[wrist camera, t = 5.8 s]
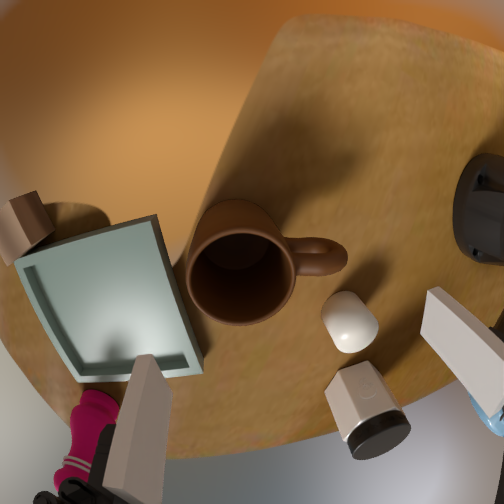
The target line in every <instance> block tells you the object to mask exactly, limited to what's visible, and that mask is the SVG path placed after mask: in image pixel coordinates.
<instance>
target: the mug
mask: <svg viewBox="0 0 504 504" xmlns="http://www.w3.org/2000/svg"><path fill="white" fill-rule="evenodd" d="M347 260H348V255H347V251H346V250H345V248H344V247H343V246H342V245H340V244H339V243H337V242H335V241H333V240H329V239H325V238H317V237H306V238H288V237H283V236H282V234H281V233H280V231H279V229H278V228H277V226H276V225H275V224H274V222H273V221H272V219H271V218H270V216H269V215H268V214H267V213H266V212H265V211H264V210H263V209H262V208H261V207H259V206H258V205H256V204H254V203H252V202H249V201H246V200H239V199H232V200H226V201H223V202H220V203H218V204H216V205H214V206H213V207H211V208H210V209H209V210H207V211H206V213H205V214H204V215H203V216H202V218H201V219H200V221H199V223H198V225H197V228H196V231H195V234H194V237H193V240H192V243H191V246H190V250H189V253H188V258H187V265H186V285H187V289H188V293H189V295H190V297H191V299H192V301H193V302H194V304H195V305H196V306H197V307H198V309H199V310H200V311H201V312H203V313H204V314H205V315H206V316H208V317H209V318H211V319H213V320H215V321H217V322H220V323H223V324H226V325H232V326H247V325H253V324H256V323H260V322H262V321H265V320H267V319H268V318H270V317H272V316H273V315H275V314H276V313H277V312H279V311H280V310H281V309H282V308H283V307H284V305H285V304H286V303H287V301H288V300H289V298H290V296H291V294H292V292H293V289H294V286H295V282H296V276H298V275H300V276H326V275H331V274H334V273H336V272H339V271H341V270H342V269H343V268H344V267H345V265H346V264H347Z"/></svg>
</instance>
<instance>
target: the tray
mask: <svg viewBox="0 0 504 504" xmlns="http://www.w3.org/2000/svg"><path fill="white" fill-rule="evenodd" d="M14 264H15V267H16V270H17V272H18V274H19V277H20V279H21V282H22V284H23V286H24V289H25V291H26V293H27V295H28V297H29V299H30V302H31V304H32V306H33V308H34V310H35V312H36V314H37V316H38V318H39V320H40V322H41V323H42V325H43V327H44V329H45V331H46V333H47V334H48V336H49V338H50V340H51V341H52V343H53V345H54V347H55V348H56V350H57V351H58V353H59V355H60V356H61V358H62V360H63V361H64V363H65V364H66V366H67V367H68V369H69V370H70V372H71V373H72V375H73V376H74V378H75V379H76V381H77V382H117V381H129V379H130V376H131V373H132V369H133V366H134V363H135V360H136V357H137V355H145V354H152V355H153V357H154V359H155V361H156V362H157V364H158V366H159V368H160V370H161V372H162V374H163V376H164V378H169V377H179V376H187V375H195V374H202V373H203V366H204V358H203V356H202V353H201V350H200V348H199V345H198V342H197V340H196V337H195V334H194V332H193V329H192V326H191V323H190V320H189V318H188V315H187V312H186V309H185V306H184V303H183V300H182V297H181V294H180V291H179V288H178V285H177V282H176V279H175V276H174V272H173V269H172V266H171V263H170V259H169V256H168V253H167V249H166V246H165V243H164V239H163V236H162V232H161V229H160V225H159V221H158V218H157V214H155V215H150V216H146V217H142V218H139V219H134V220H131V221H127V222H123V223H119V224H115V225H112V226H108V227H105V228H101V229H97V230H94V231H90V232H87V233H84V234H80V235H77V236H73V237H70V238H67V239H64V240H60V241H57V242H54V243H51V244H48V245H45V246H41V247H38V248H35V249H32V250H30V251H28V252H27V253H25V254H24V255H23V256H21V257H20V258H18V259H17V260H16V261H14Z"/></svg>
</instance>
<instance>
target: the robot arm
mask: <svg viewBox="0 0 504 504" xmlns="http://www.w3.org/2000/svg"><path fill="white" fill-rule="evenodd" d="M453 230H454V235H455V239H456V242H457V245H458V247H459V249H460V250H461V251H462V252H463V253H464V254H465V255H466V256H468V257H469V258H471V259H473V260H474V261H476V262H479V263H484V264H491V265H499V266H504V157H501V156H499V155H494V154H489V153H483V154H480V155H478V156H476V157H475V158H473V159H472V160H471V161H470V163H469V164H468V165H467V167H466V168H465V170H464V172H463V174H462V176H461V178H460V181H459V183H458V186H457V190H456V194H455V199H454V206H453ZM420 334H421V335H422V337H423V338H424V339H425V340H426V341H427V342H428V343H429V344H430V346H431V347H432V348H433V349H434V350H435V351H436V353H437V354H438V355H439V356H440V357H441V358H442V360H443V361H444V362H445V363H446V364H447V366H448V367H449V368H450V369H451V370H452V372H453V373H454V374H455V375H456V376H457V378H458V379H459V380H460V381H461V383H462V384H463V385H464V386H465V388H466V389H467V390H468V394H469V397H470V400H471V402H472V405H473V407H474V409H475V410H476V412H477V414H478V415H479V417H480V418H481V420H482V421H483V422H484V423H485V425H486V426H487V427H488V428H489V429H490V430H491V431H492V432H494V433H495V434H497V435H499V436H503V437H504V309H503V311H502V313H501V315H500V317H499V318H498V320H497V322H496V324H495V326H494V327H489V328H487V327H486V326H485V325H484V324H483V323H482V322H481V321H479V320H478V319H477V318H476V317H475V316H474V315H473V314H471V313H470V312H469V311H468V310H467V309H466V308H464V307H463V306H462V305H461V304H460V303H458V302H457V301H456V300H455V299H454V298H452V297H451V296H450V295H449V294H448V293H446V292H445V291H444V290H443V289H441V288H440V287H439V286H438V287H435V288H432V289H430V290H427V297H426V304H425V310H424V316H423V321H422V327H421V332H420ZM172 397H173V392H172V391H171V389H170V387H169V385H168V383H167V382H166V380H165V378H164V376H163V374H162V372H161V370H160V368H159V366H158V364H157V362H156V361H155V359H154V357H153V355H152V354H145V355H137V357H136V360H135V363H134V366H133V369H132V373H131V376H130V379H129V382H128V386H127V389H126V392H125V396H124V399H123V403H122V406H121V410H120V413H119V417H118V421H117V424H106V426H105V427H104V428H103V430H102V431H101V433H100V435H99V439H98V442H97V444H98V445H97V446H96V449H95V454H94V457H93V461H92V465H91V469H90V473H89V477H88V481H87V482H85V481H84V480H82V479H80V478H79V477H73V476H72V477H68V478H66V479H65V480H63V481H62V482H61V484H60V486H59V489H58V495H59V497H56V496H55V495H53V494H52V493H50V492H48V491H41V492H39V493H38V494H37V495H36V496H35V498H34V500H33V504H162V491H163V478H164V467H165V456H166V446H167V437H168V428H169V420H170V412H171V404H172ZM495 504H504V455H503V462H502V469H501V475H500V480H499V486H498V490H497V495H496V499H495Z"/></svg>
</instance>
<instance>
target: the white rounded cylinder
mask: <svg viewBox="0 0 504 504" xmlns="http://www.w3.org/2000/svg"><path fill="white" fill-rule="evenodd" d="M321 318H322V320H323V322H324V324H325V326H326V328H327V330H328V332H329V333H330V335H331V337H332V339H333V341H334V343H335V345H336V347H337V348H338V349H339V350H340V351H342V352H344V353H354V352H358V351H360V350H362V349H364V348H365V347H367V346H368V345H369V344H370V343H371V342H372V341H373V340H374V338H375V337H376V335H377V332H378V328H379V326H378V321H377V320H376V318H375V317H374V316H373V315H372V313H371V312H370V311H369V310H368V308H367V307H366V306H365V305H364V303H363V302H362V301H361V300H360V298H359V297H358V296H357V295H356V294H355V293H353V292H351V291H341V292H338V293H335V294H334V295H332V296H331V297H329V298H328V299H327V300H326V302H325V303H324V305H323V307H322V310H321Z"/></svg>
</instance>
